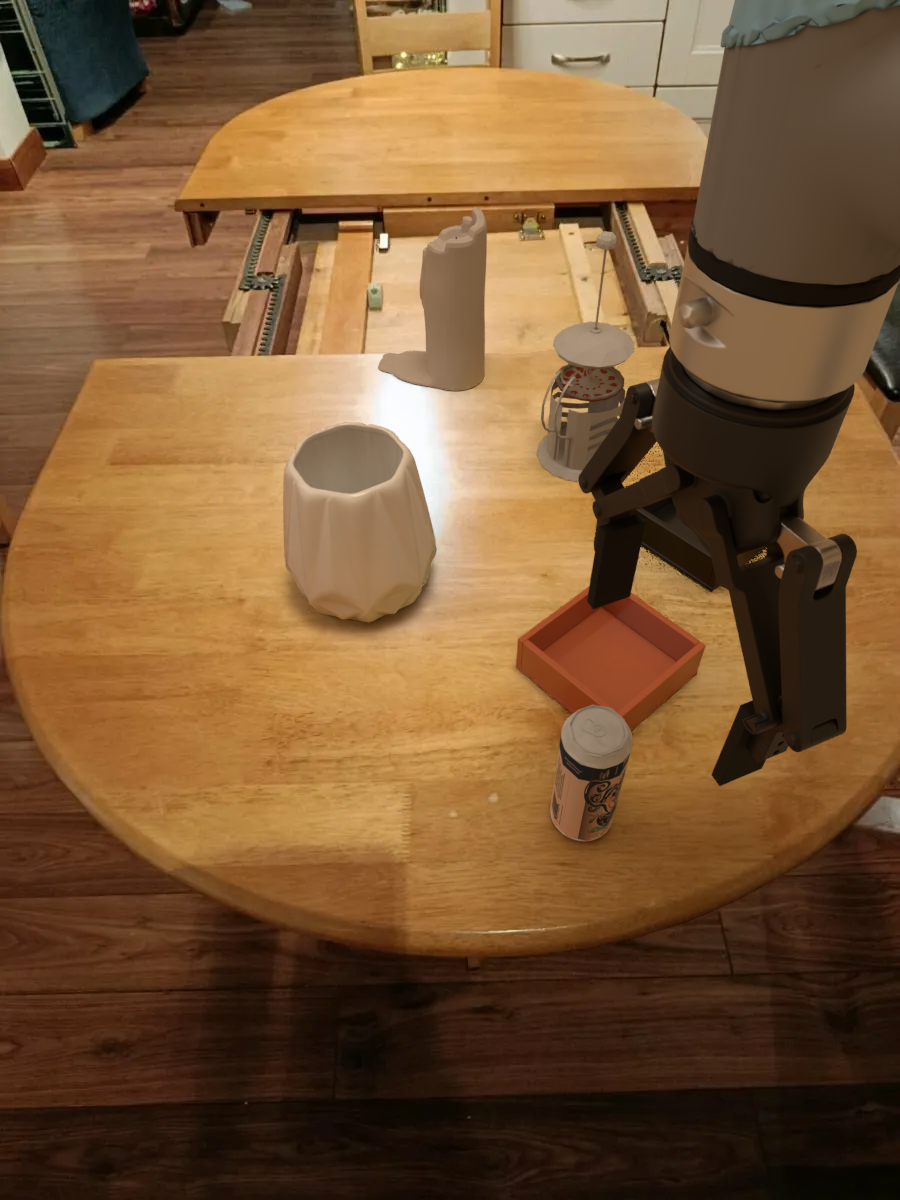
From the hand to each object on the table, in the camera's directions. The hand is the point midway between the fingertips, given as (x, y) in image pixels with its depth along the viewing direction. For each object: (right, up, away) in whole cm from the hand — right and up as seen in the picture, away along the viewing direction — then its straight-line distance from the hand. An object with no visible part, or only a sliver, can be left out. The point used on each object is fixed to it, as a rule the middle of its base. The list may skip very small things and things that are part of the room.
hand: (667, 678), depth 50 cm
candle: (-15, +33, +57) cm, 68 cm away
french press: (+1, +20, +45) cm, 49 cm away
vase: (-21, +6, +33) cm, 39 cm away
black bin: (+13, +11, +36) cm, 40 cm away
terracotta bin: (+1, -2, +25) cm, 25 cm away
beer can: (-3, -12, +16) cm, 20 cm away
